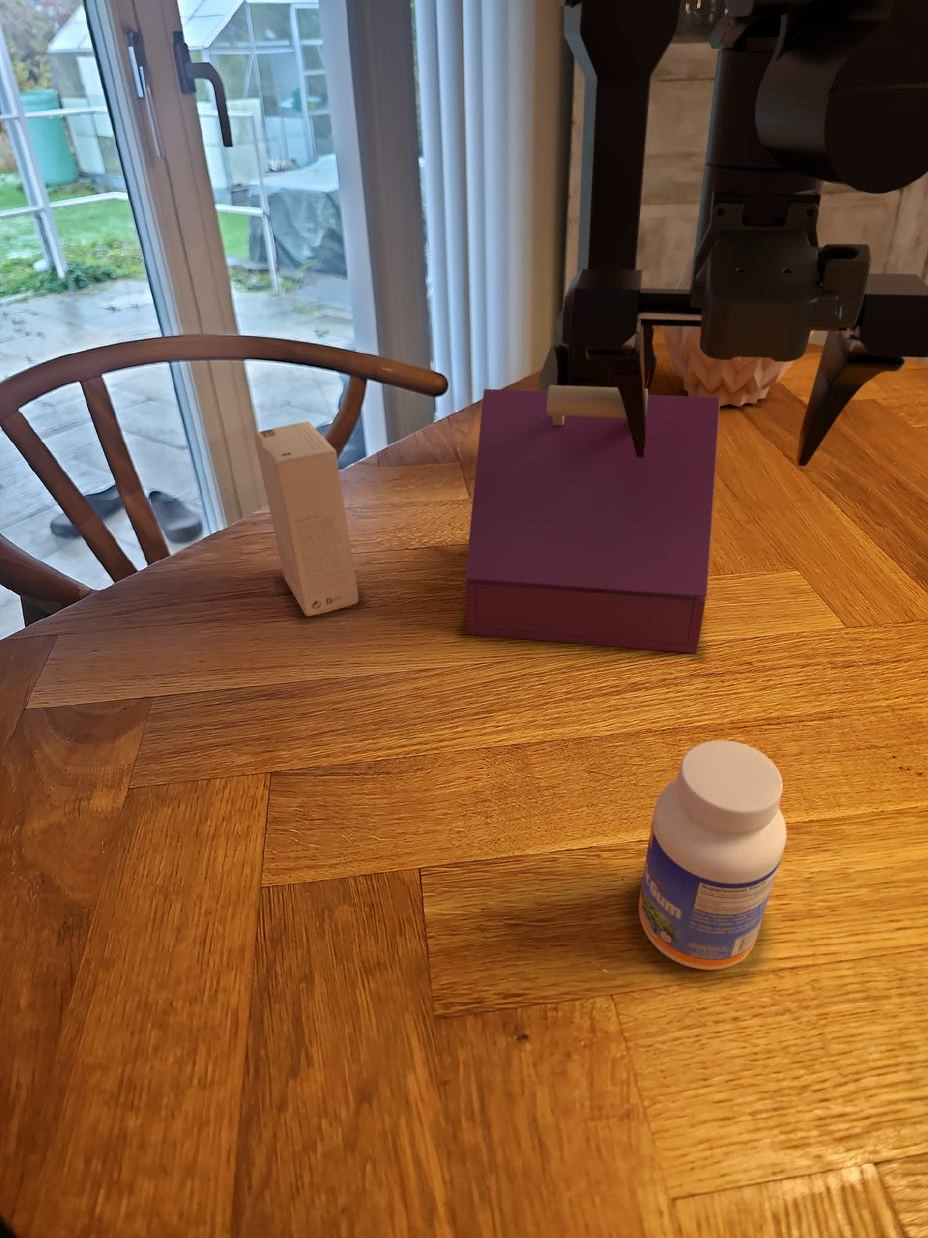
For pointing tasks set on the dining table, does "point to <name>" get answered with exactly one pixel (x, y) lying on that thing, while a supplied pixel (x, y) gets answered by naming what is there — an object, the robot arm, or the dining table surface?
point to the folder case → (584, 616)
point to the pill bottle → (713, 855)
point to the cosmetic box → (308, 516)
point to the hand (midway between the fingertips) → (719, 459)
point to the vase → (718, 364)
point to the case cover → (593, 492)
